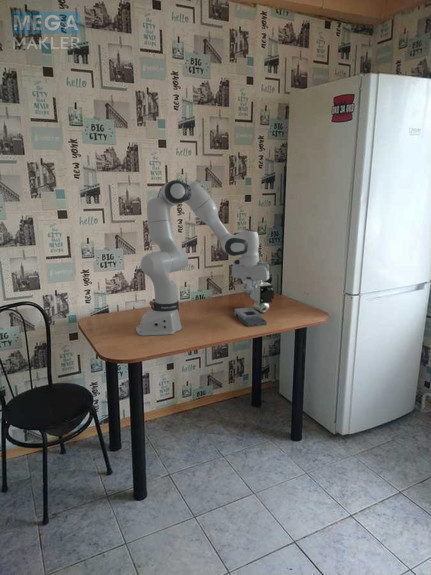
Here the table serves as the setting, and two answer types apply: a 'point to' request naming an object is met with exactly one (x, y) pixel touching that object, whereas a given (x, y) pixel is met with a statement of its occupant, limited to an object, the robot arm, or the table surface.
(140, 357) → the table surface
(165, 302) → the robot arm
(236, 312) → the square-holed grey plate
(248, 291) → the pin
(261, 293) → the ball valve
